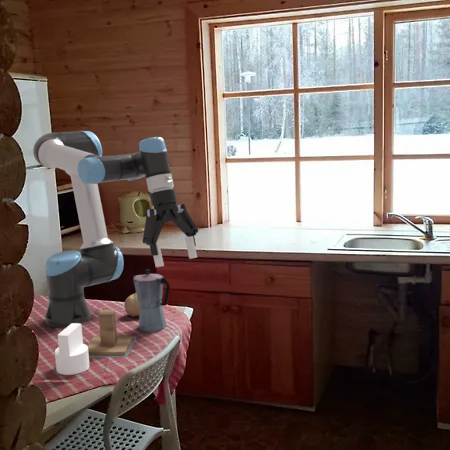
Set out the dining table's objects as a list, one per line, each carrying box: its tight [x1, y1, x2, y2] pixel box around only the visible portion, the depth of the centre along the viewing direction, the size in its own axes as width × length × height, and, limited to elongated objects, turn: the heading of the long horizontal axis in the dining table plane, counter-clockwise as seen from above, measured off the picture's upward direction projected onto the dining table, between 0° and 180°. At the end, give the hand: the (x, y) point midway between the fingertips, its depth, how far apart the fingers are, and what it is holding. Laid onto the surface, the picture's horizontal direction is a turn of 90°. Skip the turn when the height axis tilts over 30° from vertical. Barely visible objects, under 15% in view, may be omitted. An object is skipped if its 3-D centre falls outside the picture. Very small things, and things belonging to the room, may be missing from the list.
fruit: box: [124, 292, 140, 317], centre depth 204 cm, size 8×8×8 cm
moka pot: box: [132, 268, 171, 333], centre depth 191 cm, size 10×15×20 cm, turn 59°
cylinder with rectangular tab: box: [54, 323, 90, 376], centre depth 163 cm, size 9×9×12 cm
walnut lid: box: [87, 309, 134, 355], centre depth 177 cm, size 12×12×11 cm
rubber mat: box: [87, 336, 138, 359], centre depth 178 cm, size 15×14×1 cm
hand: (177, 262), depth 171 cm, fingers open, 13 cm apart
